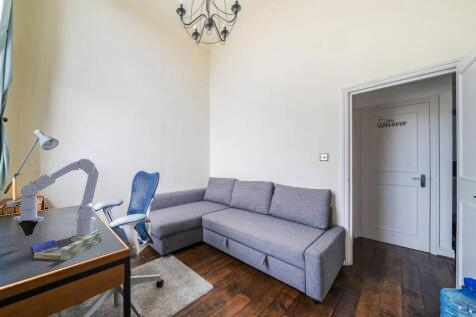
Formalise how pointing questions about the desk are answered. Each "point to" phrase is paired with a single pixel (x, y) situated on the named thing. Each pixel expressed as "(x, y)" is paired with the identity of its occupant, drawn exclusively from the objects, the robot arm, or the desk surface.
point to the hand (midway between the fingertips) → (28, 235)
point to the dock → (73, 247)
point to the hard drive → (44, 246)
